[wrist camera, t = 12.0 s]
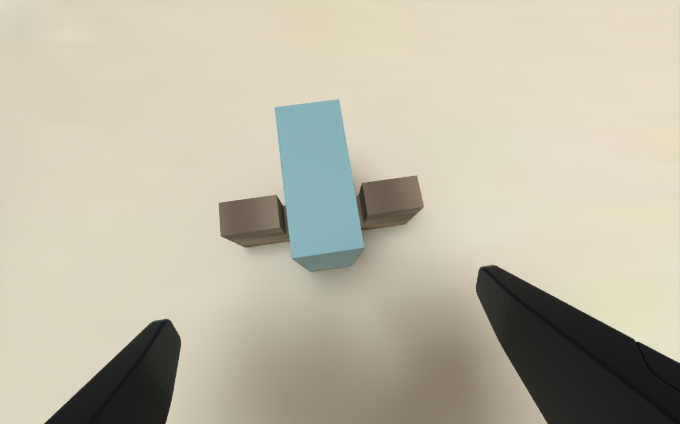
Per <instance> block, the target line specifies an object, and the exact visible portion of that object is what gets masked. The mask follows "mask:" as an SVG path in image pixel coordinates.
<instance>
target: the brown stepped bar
mask: <svg viewBox="0 0 680 424" xmlns="http://www.w3.org/2000/svg"><path fill="white" fill-rule="evenodd" d="M356 202H357V207H358V213H359V219H360V225H361V230H368V229H374V228H381V227H388V226H395V225H402V224H406V223H407V222H408V221H409V220H410V219H411V218H412V217H413V216H414V215H415V214H417V213H418V212H419V211H420V210H421V209H422V208H423V207H424V205H423V201H422V196H421V192H420V187H419V183H418V178H417V176H410V177H403V178H395V179H388V180H381V181H374V182H367V183H362V185H361V189H360V193H359V195H358V196H356ZM219 215H220V232H221V236H222V237H224V238H226V239H228V240H230V241H232V242H235V243H237V244H239V245H241V246H243V247H252V246H259V245H266V244H272V243H279V242H286V241H290V238H289V229H288V220H287V211H286V206H283V205H282V203H281V202H280V200H279V199H278V197H277V195H273V196H265V197H258V198H251V199H244V200H237V201H229V202H222V203H219Z"/></svg>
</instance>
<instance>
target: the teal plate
mask: <svg viewBox="0 0 680 424" xmlns="http://www.w3.org/2000/svg"><path fill="white" fill-rule="evenodd" d="M275 114H276V123H277V132H278V141H279V150H280V158H281V167H282V176H283V185H284V194H285V203H286V211H287V220H288V229H289V238H290V247H291V256H292V259H293V260H295V261H296V262H297V263H299V264H300V265H302V266H303V267H304V268H306V269H307V270H308V271H310V272H313V271H320V270H326V269H333V268H339V267H346V266H351V265H352V264H353V263H354V261H355V260H356V259H357V257H358V256H359V254H360V253H361V252H362V250H363V249H364V243H363V237H362V231H361V225H360V219H359V213H358V207H357V202H356V196H355V190H354V184H353V178H352V172H351V167H350V161H349V155H348V149H347V143H346V137H345V131H344V126H343V120H342V114H341V108H340V102H339V100H331V101H323V102H315V103H306V104H298V105H290V106H282V107H275Z"/></svg>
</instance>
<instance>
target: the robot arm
mask: <svg viewBox="0 0 680 424" xmlns="http://www.w3.org/2000/svg"><path fill="white" fill-rule="evenodd" d="M476 292H477V295H478V297H479V300H480V302H481V304H482V306H483V308H484V310H485V312H486V315H487V317H488V319H489V321H490V323H491V325H492V328H493V330H494V332H495V334H496V336H497V338H498V340H499V342H500V344H501V346H502V348H503V349H504V351H505V353H506V354H507V356H508V358H509V359H510V361H511V363H512V365H513V366H514V368H515V370H516V371H517V373H518V375H519V376H520V378H521V380H522V381H523V383H524V385H525V386H526V388H527V390H528V391H529V393H530V395H531V396H532V398H533V400H534V402H535V403H536V405H537V407H538V408H539V410H540V412H541V413H542V415H543V417H544V418H545V420H546V422H547V423H548V424H680V363H678V362H677V361H675V360H673V359H671V358H669V357H667V356H665V355H663V354H661V353H659V352H657V351H655V350H653V349H652V348H650V347H648V346H646V345H644V344H642V343H640V342H636V341H635V340H634V339H633V338H631V337H629V336H627V335H625V334H623V333H621V332H619V331H618V330H616V329H614V328H612V327H610V326H608V325H606V324H604V323H603V322H601V321H599V320H597V319H595V318H593V317H591V316H589V315H588V314H586V313H584V312H582V311H580V310H578V309H576V308H574V307H573V306H571V305H569V304H567V303H565V302H563V301H561V300H559V299H558V298H556V297H554V296H552V295H550V294H548V293H546V292H544V291H543V290H541V289H539V288H537V287H535V286H533V285H531V284H529V283H528V282H526V281H524V280H522V279H520V278H518V277H516V276H514V275H513V274H511V273H509V272H507V271H505V270H503V269H501V268H499V267H498V266H495V265H490V266H483V267H481V268H480V269H479V272H478V278H477V283H476ZM180 348H181V339H180V336H179V334H178V333H177V331H176V329H175V327H174V326H173V324H172V322H171V321H170V320H169V319H163V320H157V321H153V322H151V323H150V324H149V325H148V326H147V327H146V328H145V329H144V330H143V331H142V332H141V333H140V334H138V335H137V336H136V337H135V338H134V339H133V340H132V341H131V342H130V343H129V344H128V345H127V346H126V347H125V348H124V349H123V350H122V351H121V352H119V353H118V354H117V355H116V356H115V357H114V358H113V359H112V360H111V361H110V362H109V363H108V364H107V365H106V366H105V367H104V368H103V369H101V370H100V371H99V372H98V373H97V374H96V375H95V376H94V377H93V378H92V379H91V380H90V381H89V382H88V383H87V384H86V385H85V386H84V387H82V388H81V389H80V390H79V391H78V392H77V393H76V394H75V395H74V396H73V397H72V398H71V399H70V400H69V401H68V402H67V403H66V404H65V405H63V406H62V407H61V408H60V409H59V410H58V411H57V412H56V413H55V414H54V415H53V416H52V417H51V418H50V419H49V420H48V421H47V422H46V423H44V424H165V423H166V420H167V416H168V413H169V409H170V405H171V401H172V395H173V390H174V384H175V378H176V372H177V366H178V360H179V354H180Z"/></svg>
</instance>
